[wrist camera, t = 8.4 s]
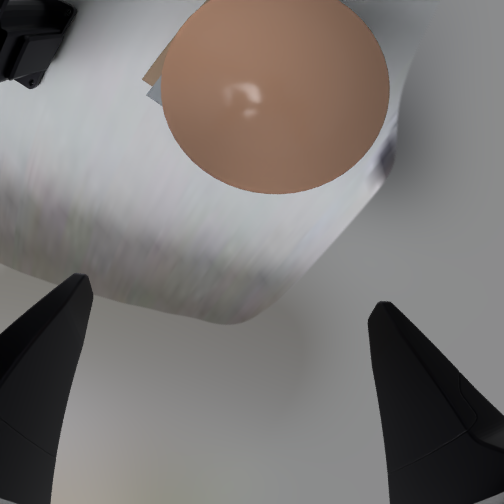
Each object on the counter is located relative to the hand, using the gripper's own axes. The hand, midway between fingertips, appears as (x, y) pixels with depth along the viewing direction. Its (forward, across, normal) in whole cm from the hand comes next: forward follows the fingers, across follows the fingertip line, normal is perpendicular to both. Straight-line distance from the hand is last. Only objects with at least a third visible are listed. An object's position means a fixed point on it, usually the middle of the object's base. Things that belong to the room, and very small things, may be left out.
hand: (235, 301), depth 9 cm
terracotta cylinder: (+6, 0, -6) cm, 8 cm away
